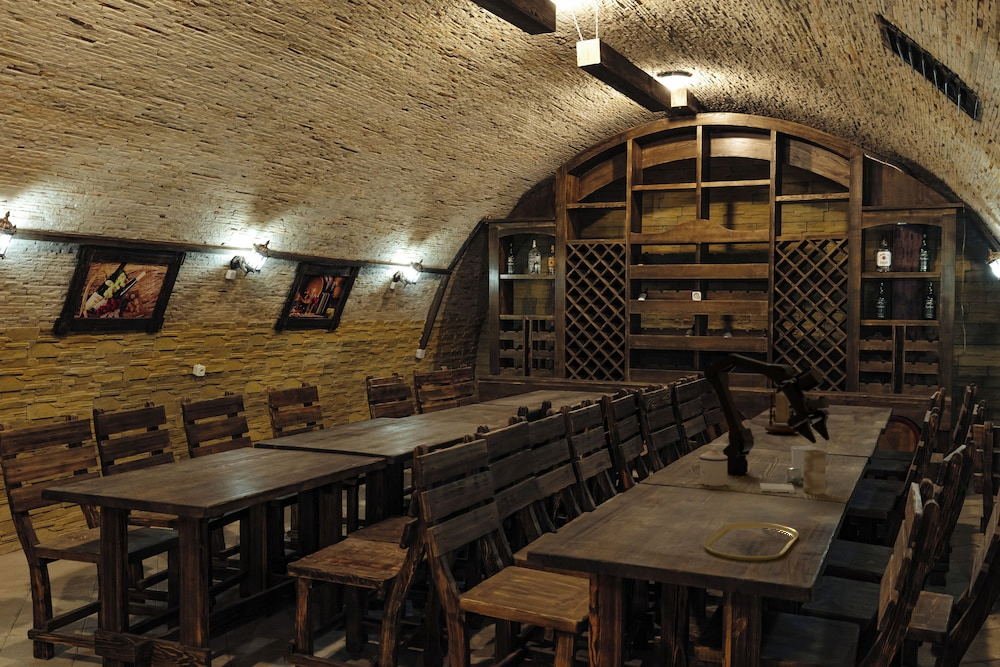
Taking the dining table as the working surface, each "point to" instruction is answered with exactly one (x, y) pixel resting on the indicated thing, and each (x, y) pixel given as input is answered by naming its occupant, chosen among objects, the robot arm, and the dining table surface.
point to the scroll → (779, 414)
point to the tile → (777, 487)
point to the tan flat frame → (732, 526)
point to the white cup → (799, 457)
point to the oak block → (814, 471)
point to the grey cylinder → (793, 475)
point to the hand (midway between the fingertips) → (821, 441)
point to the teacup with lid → (712, 468)
